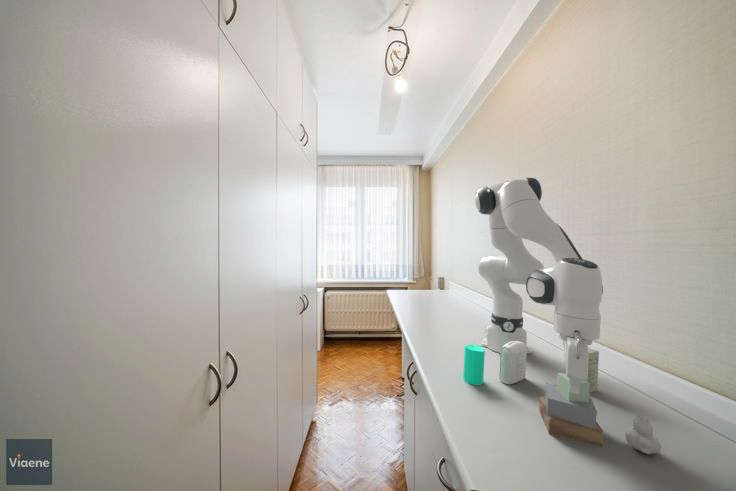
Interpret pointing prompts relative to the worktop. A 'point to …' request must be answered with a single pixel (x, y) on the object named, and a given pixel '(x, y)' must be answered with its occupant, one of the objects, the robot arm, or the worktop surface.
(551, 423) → the walnut block
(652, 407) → the worktop surface
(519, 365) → the photo printer
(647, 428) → the white figurine
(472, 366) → the candle
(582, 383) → the sage cube
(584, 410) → the gray block
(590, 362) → the skincare box
